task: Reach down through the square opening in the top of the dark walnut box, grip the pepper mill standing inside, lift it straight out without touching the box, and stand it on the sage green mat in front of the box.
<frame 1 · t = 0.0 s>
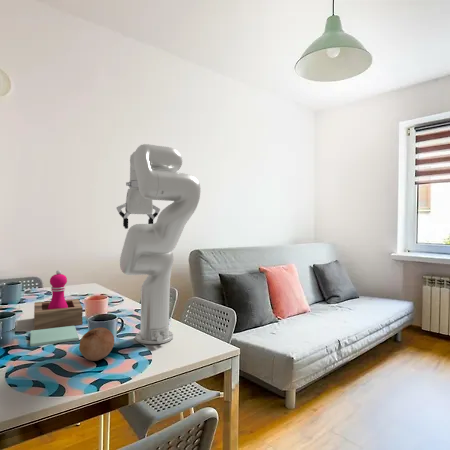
hand: (138, 228, 136), 37 cm above the table, tool pointing down, fingers open, 9 cm apart
green mat: (54, 336, 115), on the table
pepper mill: (57, 321, 131), resting in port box
brown oval lump: (96, 359, 98), on the table
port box: (57, 321, 131), on the table
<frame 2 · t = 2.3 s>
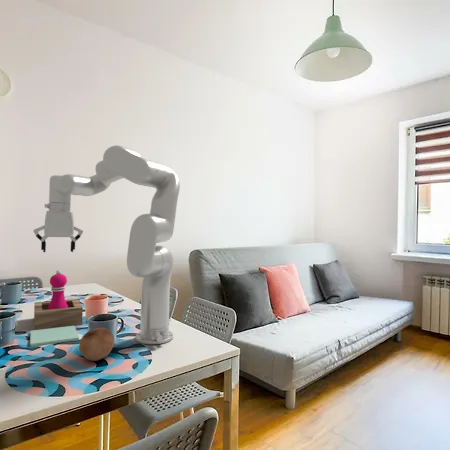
hand: (58, 251, 131), 27 cm above the table, tool pointing down, fingers open, 9 cm apart
nothing on the table moved.
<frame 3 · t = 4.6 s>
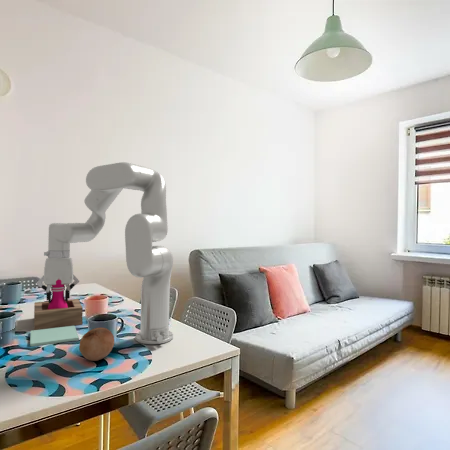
hand: (58, 300, 131), 8 cm above the table, tool pointing down, fingers closed on pepper mill, 5 cm apart
pepper mill: (57, 321, 132), resting in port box, touching gripper
everything else where it was.
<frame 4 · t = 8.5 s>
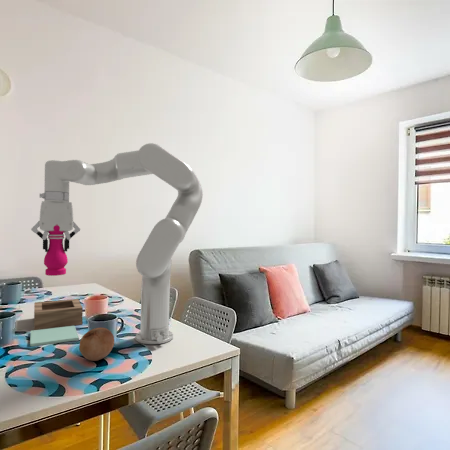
hand: (56, 250, 115), 29 cm above the table, tool pointing down, fingers closed on pepper mill, 5 cm apart
pepper mill: (55, 274, 115), point 21 cm above the table, touching gripper
everything else where it was.
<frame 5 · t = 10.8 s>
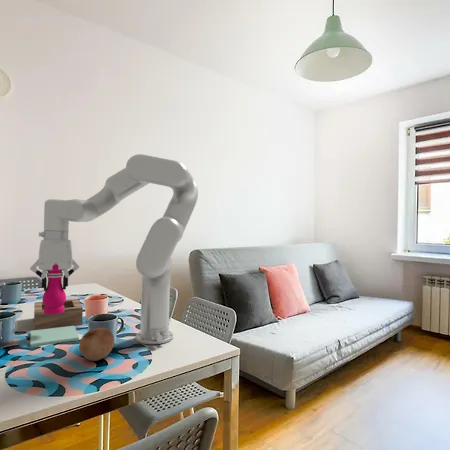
hand: (54, 288, 115), 16 cm above the table, tool pointing down, fingers closed on pepper mill, 5 cm apart
pepper mill: (54, 312, 115), point 8 cm above the table, touching gripper
everything else where it was.
when the fingers open (10 cm above the table, at t = 12.5 s): pepper mill drops 1 cm, resting on green mat.
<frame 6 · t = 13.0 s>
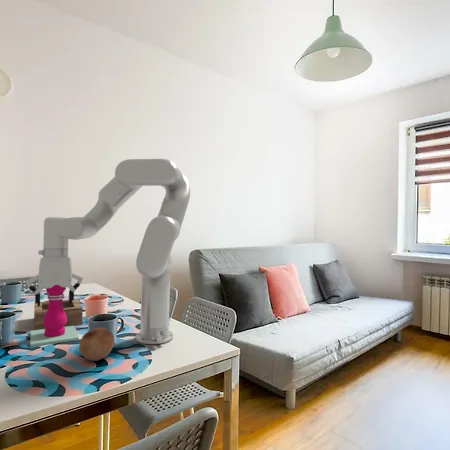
hand: (54, 303, 115), 11 cm above the table, tool pointing down, fingers open, 9 cm apart
pepper mill: (54, 334, 115), point 1 cm above the table, touching green mat
everything else where it was.
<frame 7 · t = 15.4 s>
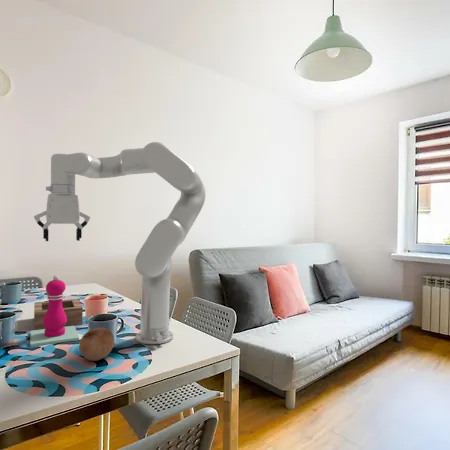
hand: (62, 240, 116), 33 cm above the table, tool pointing down, fingers open, 9 cm apart
nothing on the table moved.
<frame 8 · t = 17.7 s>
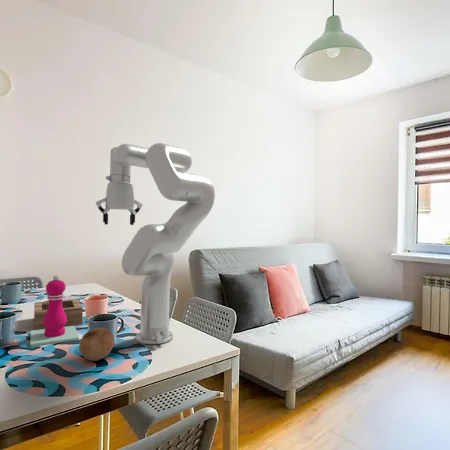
hand: (119, 224, 130), 38 cm above the table, tool pointing down, fingers open, 9 cm apart
nothing on the table moved.
at the end: pepper mill inside the target area on the green mat (0.2 cm from its centre), point 0.6 cm above the green mat's base; pepper mill tilted 0°; the gripper is holding nothing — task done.
